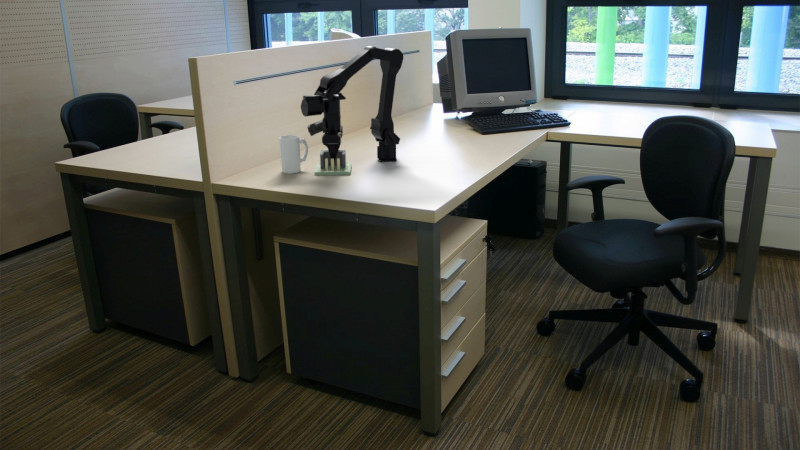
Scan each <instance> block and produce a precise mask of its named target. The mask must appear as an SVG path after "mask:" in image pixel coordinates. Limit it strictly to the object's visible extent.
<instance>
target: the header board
mask: <svg viewBox="0 0 800 450" xmlns="http://www.w3.org/2000/svg"><path fill="white" fill-rule="evenodd" d="M351 172H352V162H346V168H343V166H340V159H337V166H334V159H331V166H328V159H325V166H324V169H321V165H320V162H317V163H316V166H315V169H314V176H329V175H331V176H338V175H340V176H344V175H345V176H348V175H351Z"/></svg>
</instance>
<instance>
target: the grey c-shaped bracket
mask: <svg viewBox="0 0 800 450" xmlns="http://www.w3.org/2000/svg"><path fill="white" fill-rule="evenodd" d="M346 151H347V150H346V149H339V150H338V153H337V156H336V159H335V161H334V166H337V159H340V166H343V168H346V163H347V154H346V153H347V152H346ZM325 159H328V166H331V158H330V154H329V151H328V149H325V150H324V149H323V150H320V154H319V161H320V162H319V163H320V165H321V169H324V166H325Z"/></svg>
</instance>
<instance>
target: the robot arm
mask: <svg viewBox="0 0 800 450" xmlns="http://www.w3.org/2000/svg"><path fill="white" fill-rule="evenodd" d="M374 59H375V60H379V62H380V63H379V65H380V69H381V73H382V76H381V84H380V85H381V86H380V93H379V103H378V109H377V115H376V116H375V118H374V117H371V120H370V127H369V129H370V130H371V131H370V132H371V135H372V136H373V137H374V138H375V142H378V145H377V146H376V148H377V150H376V153H377V155H376V156H377V157H376V158H377V159H378V162H397V145H400V141H401V138H400V137H399V135H397V134H396V133H395V125H394V121H393V117H392V113H393V105H394V96H395V91H396V90H395V89H396V80H397V75H398V73H399V71H400V70H401V68H402V65H403V63H404V53H403V52H402V51H401V50H400V49H398V48H394V47H393V48H392V47H385V48H379V47H376V46H374V45H373V46H371V45H367V46H365V47H364V48H363V49H362V50H361V51H360V52H359V53H357V55H355V56H354V57H352V58H351V59H350V60H348V62H346V63H345V64H344V65H343V66H342V67H340V68H339V69H336V70H333V71H330V72H329V73H327V74H326V75H324V76H322V77H321V78H320V79H319V81H320V82H319V85H318V87H317V88H316V90H315V92H314V94H313V95H302V100H301V104H300V110H301V114H302V116H304V117H312V116H314V117H315V116H321V115H322V114H323V116H322V119H321V120H319V121H316V122H312V123H310V124H308V125H307V127H306V129H307V130H308V131H307V132H308V133H309V136H310V137H313V136H315V135H317V134H319V133H322V134H323V135H321V143H322V145H323V146H325V147H326V148H327V150H328V151H329V154H330V158H331V159H334V161H335V159H336V156H337V153H338V150H340V147H341V144H342V138H343V134H344V126H343V125H342V122H341V121H342V115H341V101H343V100H346V99H347V98H346V96H345V95H344V94H342V91H343V89H344V88H345V87H346V85H347V83H348V81H349V80H350V79H351V78H352V77H353V76H355V75H356V74H357V73H358V72H359V71H361V70H362V69H363V68H364V67H366V66H367V65H368V64H369V63H370V62H372V61H373V60H374Z"/></svg>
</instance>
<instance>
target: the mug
mask: <svg viewBox="0 0 800 450" xmlns="http://www.w3.org/2000/svg"><path fill="white" fill-rule="evenodd" d="M301 144H302V145H303V146H304V153H303V155H302V157H301ZM279 148H280V150H279V151H280V162H281V169H282V170H281V171H282V173H283V174H287V175H289V174H291V175H292V174H297V173H300V172H301V169H302V168H301V164H302V162H306V160H307V156H308V154H309V146H308V143H307V141H306V139H305V138H304V137H303V138H300V135H297V134H285V135H284V134H283V135H281V136H279Z"/></svg>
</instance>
